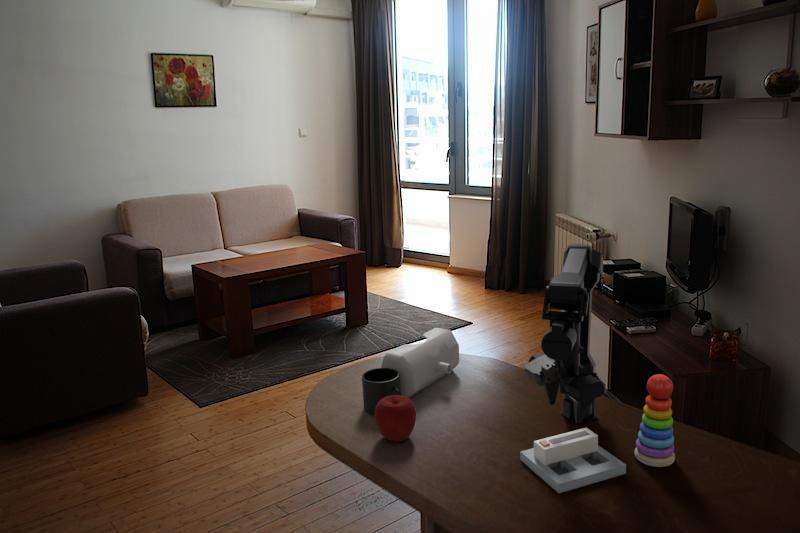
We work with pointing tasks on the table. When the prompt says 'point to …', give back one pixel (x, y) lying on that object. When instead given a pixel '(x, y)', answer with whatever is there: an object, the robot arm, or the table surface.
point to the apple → (395, 417)
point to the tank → (423, 360)
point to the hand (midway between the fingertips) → (564, 413)
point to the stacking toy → (656, 425)
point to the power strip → (565, 446)
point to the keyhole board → (575, 469)
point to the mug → (379, 386)
